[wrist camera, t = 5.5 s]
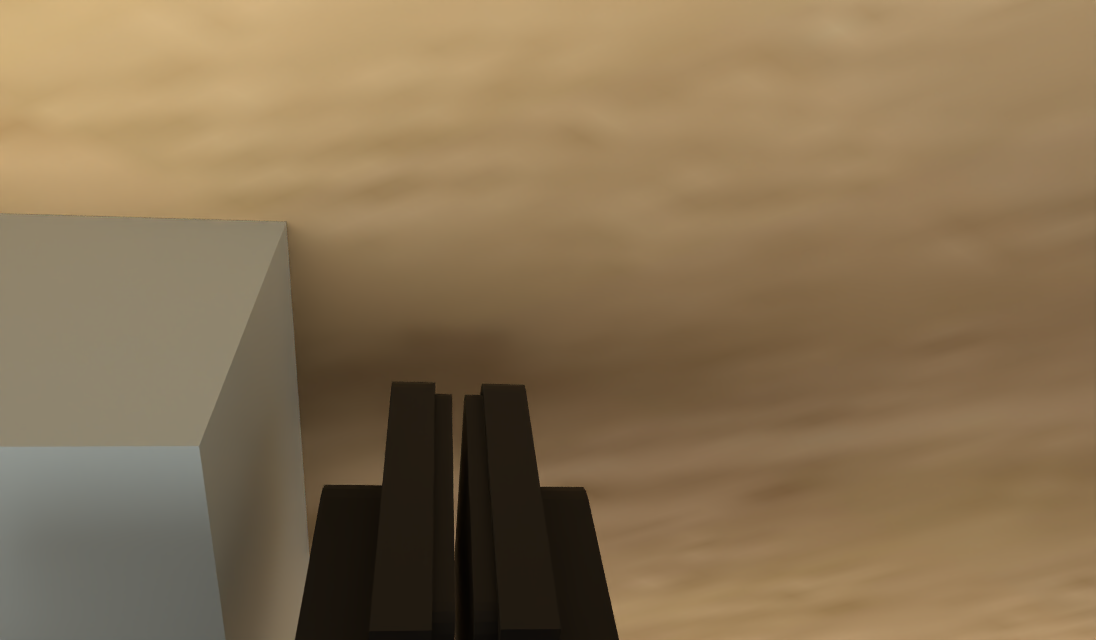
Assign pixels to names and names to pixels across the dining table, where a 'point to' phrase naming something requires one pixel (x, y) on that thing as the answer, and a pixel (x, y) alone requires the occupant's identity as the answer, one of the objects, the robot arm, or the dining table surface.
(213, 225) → the block
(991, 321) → the dining table surface
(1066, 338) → the dining table surface
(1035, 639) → the dining table surface
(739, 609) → the dining table surface
